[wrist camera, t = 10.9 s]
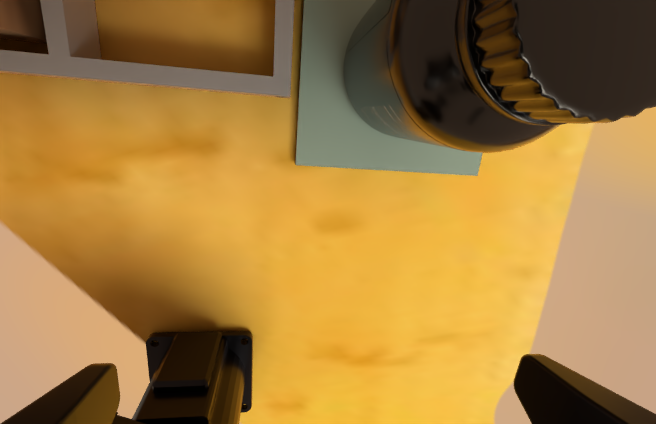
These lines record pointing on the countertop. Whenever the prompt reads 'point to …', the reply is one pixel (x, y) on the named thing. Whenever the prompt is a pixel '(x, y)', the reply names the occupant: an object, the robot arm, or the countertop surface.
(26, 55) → the parts organiser
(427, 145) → the rubber mat
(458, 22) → the supplement bottle
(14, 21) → the walnut block
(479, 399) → the countertop surface
